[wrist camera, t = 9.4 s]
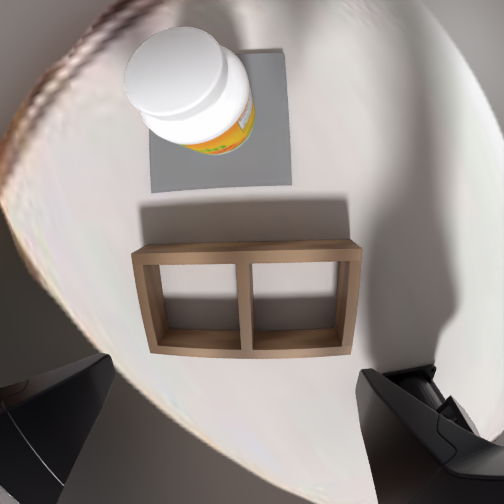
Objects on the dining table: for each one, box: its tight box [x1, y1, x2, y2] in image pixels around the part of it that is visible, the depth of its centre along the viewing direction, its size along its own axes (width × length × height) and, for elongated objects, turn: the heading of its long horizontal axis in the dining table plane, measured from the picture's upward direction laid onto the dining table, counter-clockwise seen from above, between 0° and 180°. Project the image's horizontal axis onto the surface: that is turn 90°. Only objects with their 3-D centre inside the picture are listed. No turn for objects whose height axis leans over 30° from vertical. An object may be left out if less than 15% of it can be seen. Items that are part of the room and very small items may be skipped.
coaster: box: [149, 53, 292, 193], centre depth 18 cm, size 10×10×1 cm
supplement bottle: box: [124, 27, 255, 155], centre depth 13 cm, size 5×5×10 cm
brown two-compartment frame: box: [131, 240, 362, 359], centre depth 20 cm, size 15×8×3 cm, turn 92°
